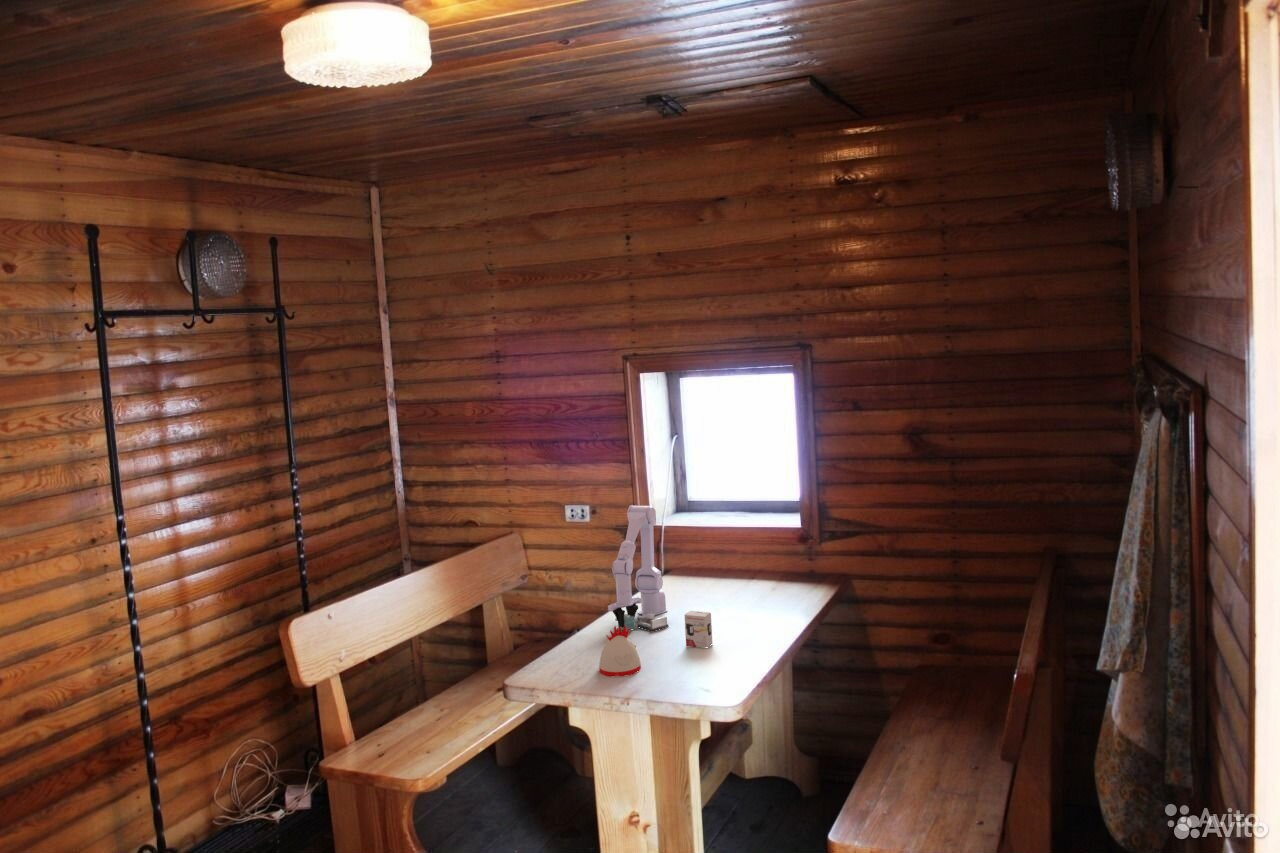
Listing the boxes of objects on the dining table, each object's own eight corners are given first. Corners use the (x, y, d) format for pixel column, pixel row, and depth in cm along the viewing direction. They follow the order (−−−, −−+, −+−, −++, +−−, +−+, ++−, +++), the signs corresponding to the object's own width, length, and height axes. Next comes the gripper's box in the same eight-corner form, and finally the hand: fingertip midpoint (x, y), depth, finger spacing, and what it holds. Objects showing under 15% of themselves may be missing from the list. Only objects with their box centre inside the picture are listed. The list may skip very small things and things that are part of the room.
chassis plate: (653, 622, 393) (652, 612, 393) (668, 626, 386) (667, 616, 386) (637, 627, 388) (636, 617, 388) (652, 632, 381) (651, 621, 381)
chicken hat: (645, 672, 337) (642, 628, 336) (605, 679, 333) (602, 634, 332) (634, 660, 350) (631, 617, 349) (595, 666, 347) (592, 623, 345)
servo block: (624, 626, 391) (623, 611, 390) (637, 630, 385) (636, 615, 384) (615, 628, 389) (614, 614, 388) (628, 632, 382) (627, 618, 382)
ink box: (685, 646, 361) (683, 614, 360) (691, 642, 366) (689, 610, 364) (707, 648, 357) (705, 616, 356) (713, 644, 362) (711, 612, 360)
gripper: (615, 596, 378) (617, 632, 379) (645, 588, 387) (647, 623, 388) (603, 593, 383) (606, 628, 384) (633, 585, 392) (636, 619, 393)
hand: (626, 625), depth 387 cm, fingers closed on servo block, 4 cm apart
